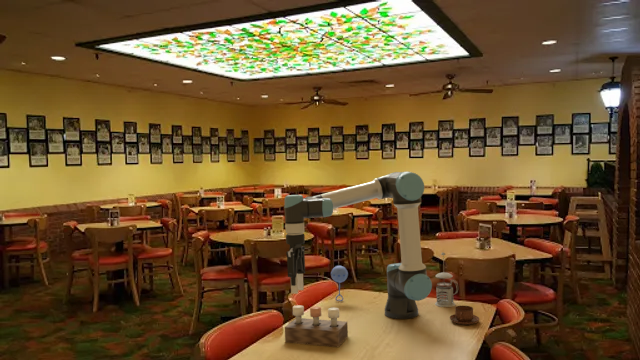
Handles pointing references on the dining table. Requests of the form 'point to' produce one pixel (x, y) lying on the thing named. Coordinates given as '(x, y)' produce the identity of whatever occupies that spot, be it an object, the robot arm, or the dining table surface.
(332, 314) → the knob near
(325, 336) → the knob console
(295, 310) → the knob far
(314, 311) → the knob middle
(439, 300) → the french press
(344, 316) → the dining table surface
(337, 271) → the baby rattle
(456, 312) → the cup and saucer
